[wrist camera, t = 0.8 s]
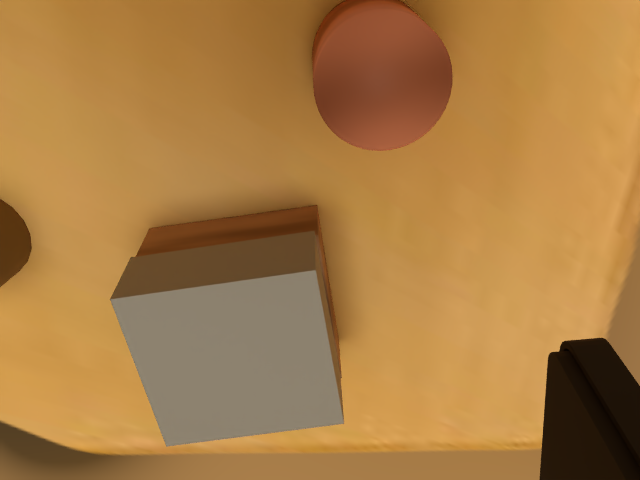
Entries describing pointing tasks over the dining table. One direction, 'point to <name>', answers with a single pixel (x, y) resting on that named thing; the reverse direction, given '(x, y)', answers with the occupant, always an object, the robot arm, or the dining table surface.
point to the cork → (12, 242)
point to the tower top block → (232, 338)
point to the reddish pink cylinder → (379, 74)
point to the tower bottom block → (243, 238)
